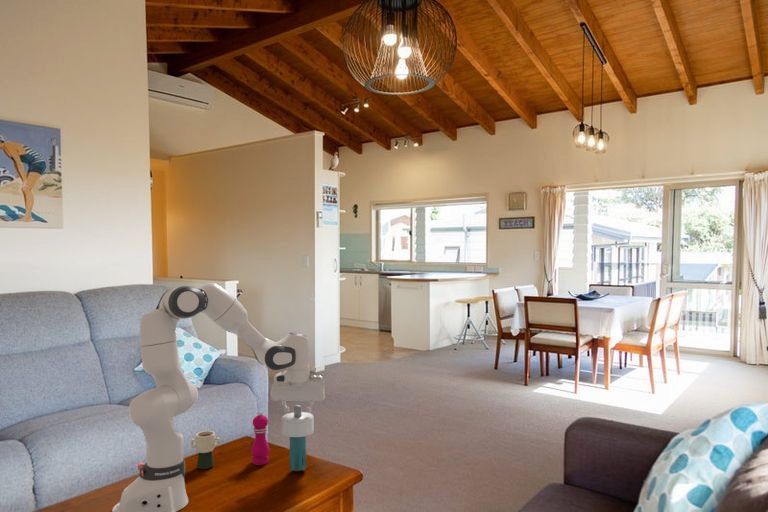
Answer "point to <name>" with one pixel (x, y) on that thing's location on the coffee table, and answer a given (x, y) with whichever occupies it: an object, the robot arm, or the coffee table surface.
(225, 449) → the coffee table surface
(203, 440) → the character mug
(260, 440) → the pepper mill
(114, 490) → the coffee table surface
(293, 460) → the beverage bottle
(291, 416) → the cap
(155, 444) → the robot arm
